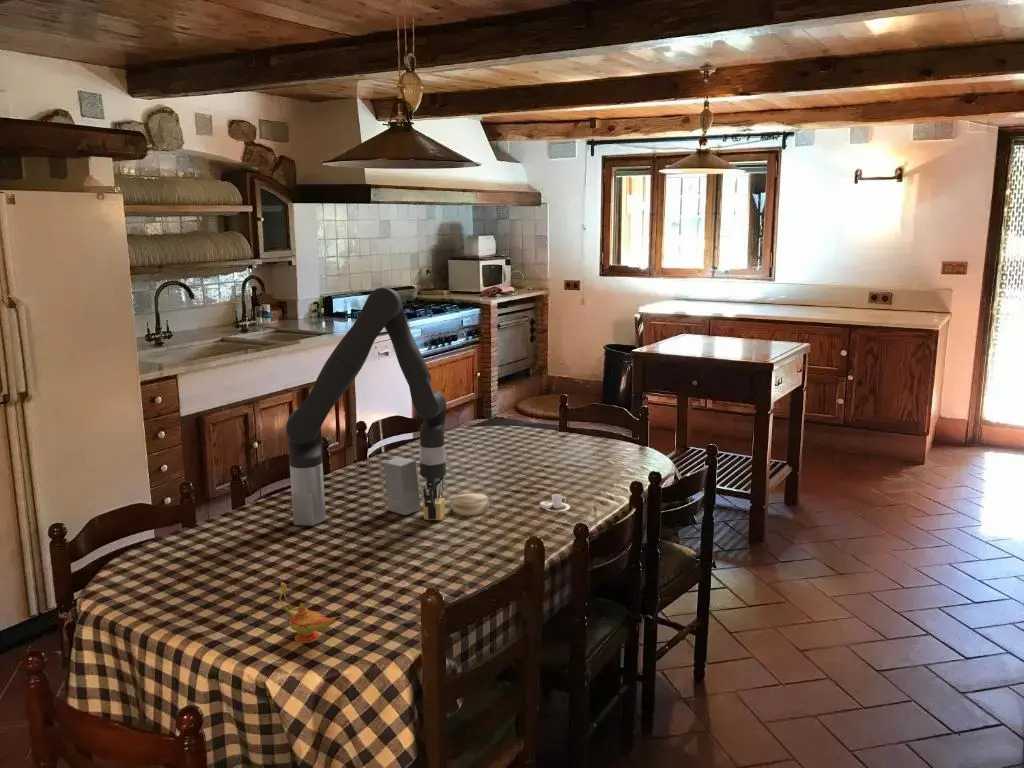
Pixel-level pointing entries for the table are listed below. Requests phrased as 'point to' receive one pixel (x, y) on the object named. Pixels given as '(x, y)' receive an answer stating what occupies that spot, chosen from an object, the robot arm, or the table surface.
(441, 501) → the ochre block
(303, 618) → the magic lamp
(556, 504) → the teacup and saucer
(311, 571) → the table surface
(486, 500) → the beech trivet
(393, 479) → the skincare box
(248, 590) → the table surface
